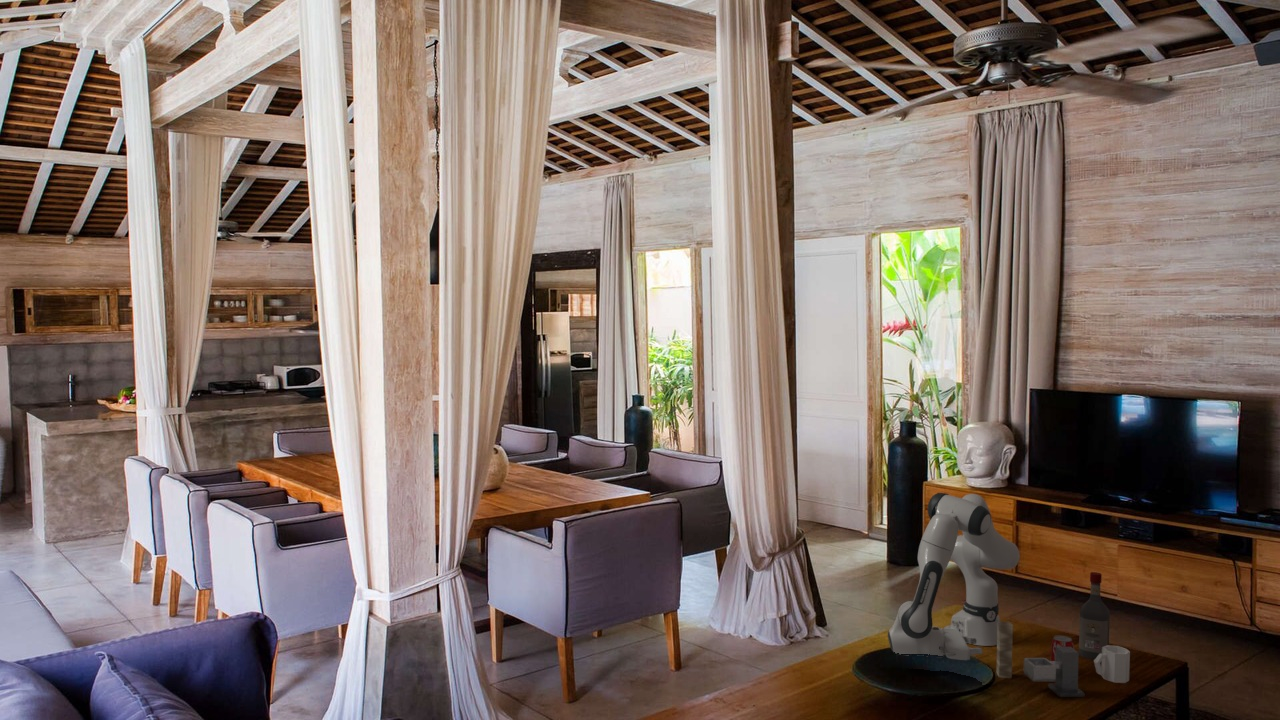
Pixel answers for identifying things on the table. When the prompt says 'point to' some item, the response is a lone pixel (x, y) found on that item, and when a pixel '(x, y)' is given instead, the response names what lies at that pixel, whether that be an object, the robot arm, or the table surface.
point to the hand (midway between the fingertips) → (978, 645)
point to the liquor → (1093, 622)
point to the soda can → (1060, 644)
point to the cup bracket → (1056, 672)
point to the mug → (1113, 664)
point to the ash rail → (1004, 649)
